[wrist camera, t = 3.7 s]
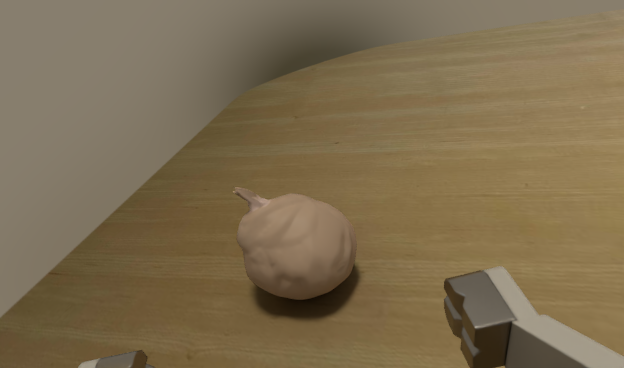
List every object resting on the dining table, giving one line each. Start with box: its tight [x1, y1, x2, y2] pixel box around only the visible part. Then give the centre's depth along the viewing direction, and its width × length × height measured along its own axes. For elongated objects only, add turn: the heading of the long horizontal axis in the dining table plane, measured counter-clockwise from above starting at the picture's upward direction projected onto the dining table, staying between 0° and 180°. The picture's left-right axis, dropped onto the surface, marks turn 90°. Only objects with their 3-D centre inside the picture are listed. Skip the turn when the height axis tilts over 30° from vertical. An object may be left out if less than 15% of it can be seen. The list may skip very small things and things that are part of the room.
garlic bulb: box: [233, 187, 357, 300], centre depth 26 cm, size 7×6×8 cm
